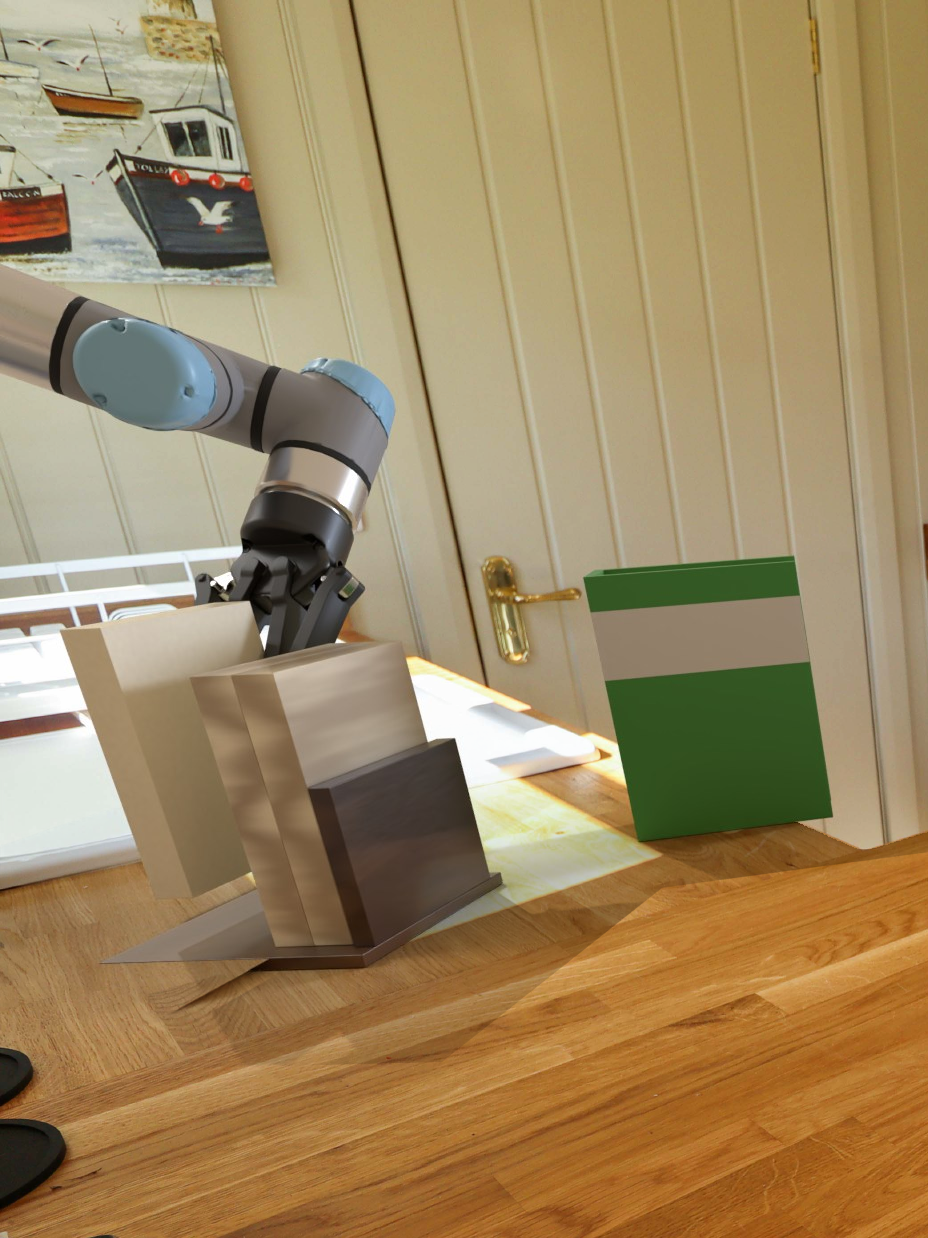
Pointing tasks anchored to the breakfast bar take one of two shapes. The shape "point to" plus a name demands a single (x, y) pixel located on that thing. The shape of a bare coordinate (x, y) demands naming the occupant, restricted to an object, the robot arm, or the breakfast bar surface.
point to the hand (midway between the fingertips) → (218, 752)
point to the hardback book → (711, 694)
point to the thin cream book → (167, 735)
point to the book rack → (331, 813)
